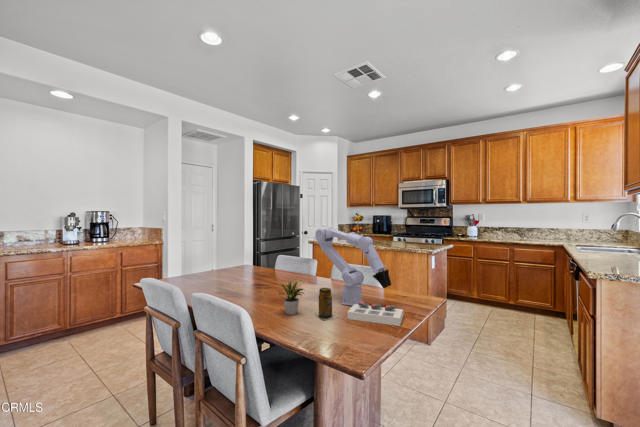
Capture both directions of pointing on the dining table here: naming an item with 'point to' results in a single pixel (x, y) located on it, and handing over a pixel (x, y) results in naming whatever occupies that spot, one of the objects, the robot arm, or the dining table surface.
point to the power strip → (376, 315)
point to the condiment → (325, 304)
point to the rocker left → (363, 304)
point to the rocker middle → (376, 306)
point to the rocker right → (390, 307)
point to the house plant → (291, 297)
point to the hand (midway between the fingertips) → (387, 286)
